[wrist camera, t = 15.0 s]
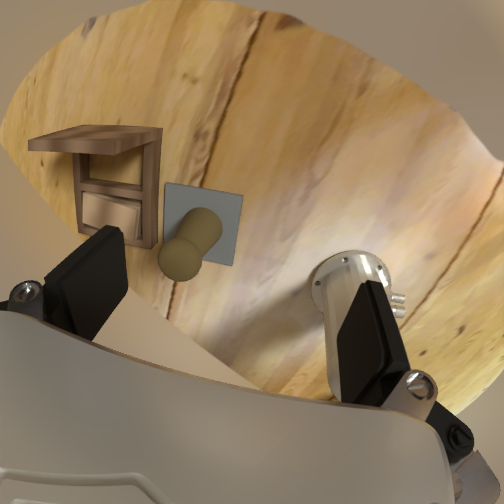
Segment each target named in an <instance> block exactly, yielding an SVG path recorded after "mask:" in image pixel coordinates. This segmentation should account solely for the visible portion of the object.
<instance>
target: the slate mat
mask: <svg viewBox="0 0 504 504" xmlns="http://www.w3.org/2000/svg"><path fill="white" fill-rule="evenodd" d="M242 200H243V195H238V194H233V193H228V192H222V191H217V190H211V189H205V188H200V187H194V186H188V185H182V184H175V183H169V182H167V183H166V185H165V208H164V244H165V243H166V242H167V241H169V240H171V239H173V238H174V236H175V234H176V232H177V230H178V228H179V226H180V224H181V222H182V220H183V218H184V216H185V215H186V214H187V212H188V211H190V210H191V209H193V208H198V207H203V208H207V209H210V210H212V211H213V212H214V213H216V214H217V215H218V217H219V218H220V220H221V222H222V226H223V232H222V235H221V237H220V239H219V240H218V241H217V242H216V244H215V245H214V246H213V247H212V248H211V249H210V250H209V251H208V252H207V253H206V255H205V256H204V257H203V258H202V260H206V261H211V262H215V263H220V264H224V265H229V266H232V265H233V259H234V253H235V246H236V239H237V233H238V226H239V220H240V213H241V207H242Z"/></svg>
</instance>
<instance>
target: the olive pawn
mask: <svg viewBox="0 0 504 504" xmlns="http://www.w3.org/2000/svg"><path fill="white" fill-rule="evenodd" d="M222 232H223V226H222V222H221V220H220V218H219V217H218V215H217V214H216V213H214V212H213V211H212V210H210V209H207V208H203V207H198V208H193V209H191V210H190V211H188V212H187V214H186V215H185V216H184V218H183V220H182V222H181V224H180V226H179V228H178V230H177V232H176V234H175V236H174V238H173V239H171V240H169V241H167V242H166V243H165V244H164V245H163V246H162V247H161V249H160V251H159V255H158V264H159V267H160V269H161V271H162V272H163V274H164V275H165V276H167V277H168V278H169V279H171V280H173V281H178V282H183V281H188V280H190V279H192V278H193V277H195V276H196V275H197V274H198V272H199V270H200V268H201V265H202V258H203V257H204V256H205V255H206V253H207V252H208V251H209V250H210V249H211V248H212V247H213V246H214V245H215V244H216V242H217V241H218V240H219V239H220V237H221V235H222Z"/></svg>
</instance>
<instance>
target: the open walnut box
mask: <svg viewBox="0 0 504 504" xmlns="http://www.w3.org/2000/svg"><path fill="white" fill-rule="evenodd" d="M162 131H163V128H155V127H140V126H119V125H80V126H76V127H72V128H68V129H64V130H61V131H57V132H54V133H50V134H47V135H43V136H40V137H37V138H34V139H30V140H28V151H50V152H72V153H73V175H74V192H75V204H76V215H77V224H78V232H79V233H83V234H87V235H91V236H92V235H94V234H95V233H96V232H97V231H99V230H100V229H98V228H96V227H93V226H90V225H88V224H85V223H83V221H82V220H83V193H84V192H85V191H89V192H95V193H101V194H108V195H114V196H120V197H126V198H132V199H138V200H142V230H143V233H142V234H141V235H140V236H139V237H138V238H137V239H136V240H135V241H131V240H128V239H126V238H124V243H125V244H129V245H133V246H138V247H142V248H146V249H152V248H153V247H154V246H155V245H156V243H157V242H158V195H159V173H160V156H161V143H162ZM143 144H144V158H143V186H141V185H134V184H128V183H121V182H113V181H106V180H98V179H91V178H89V154H102V155H113V156H114V155H116V154H119V153H121V152H124V151H126V150H129V149H132V148H134V147H137V146H140V145H143Z"/></svg>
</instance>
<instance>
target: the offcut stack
mask: <svg viewBox="0 0 504 504" xmlns="http://www.w3.org/2000/svg"><path fill="white" fill-rule="evenodd" d="M82 221H83V223H85V224H88V225H90V226H93V227H96V228H98V229H101V228H102V227H104V226H105V225H111V226H116V227H119V228H120V230H121V231H122V232H123V234H124V238H126V239H128V240H131V241H135V240H136V239H137V238H138V237H139V236H140V235H141V234H142V233H143V230H142V201H141V200H138V199H132V198H126V197H120V196H114V195H108V194H101V193H95V192H89V191H85V192H84V193H83V220H82Z"/></svg>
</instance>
